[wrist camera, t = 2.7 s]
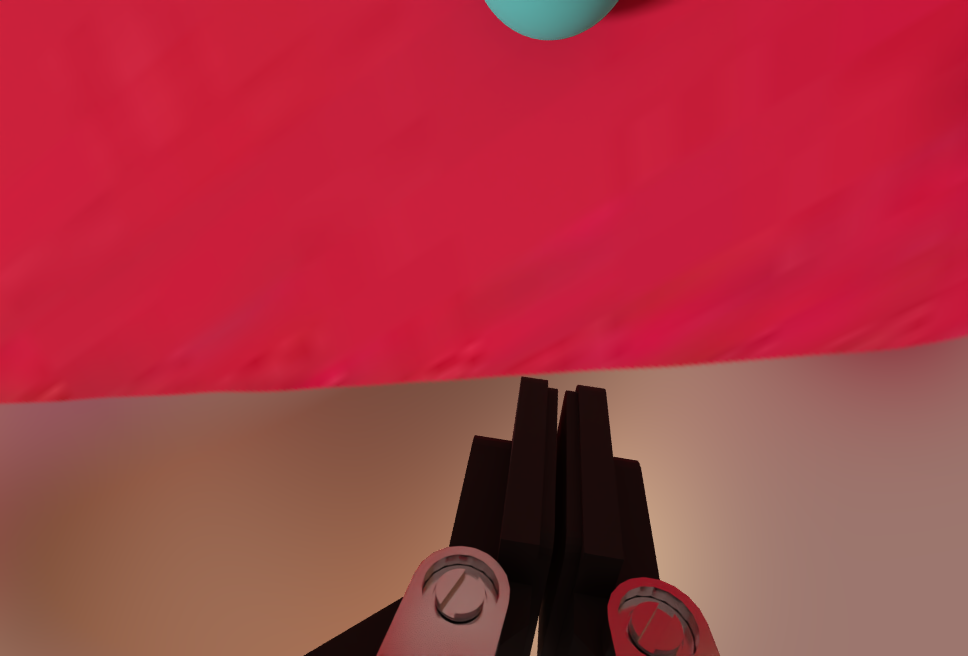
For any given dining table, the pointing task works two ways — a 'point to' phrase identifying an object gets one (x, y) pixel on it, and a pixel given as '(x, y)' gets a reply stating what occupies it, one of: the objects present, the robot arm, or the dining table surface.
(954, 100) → the dining table surface
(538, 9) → the ball
